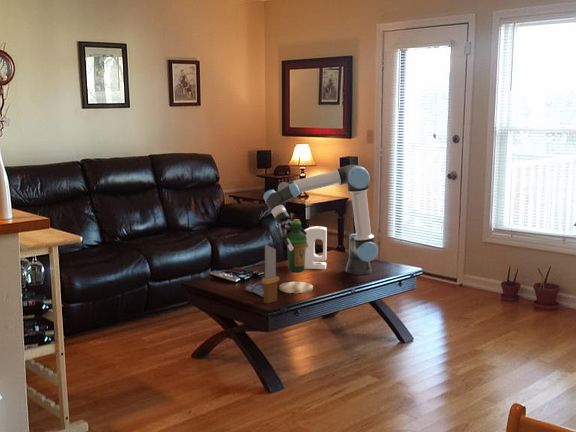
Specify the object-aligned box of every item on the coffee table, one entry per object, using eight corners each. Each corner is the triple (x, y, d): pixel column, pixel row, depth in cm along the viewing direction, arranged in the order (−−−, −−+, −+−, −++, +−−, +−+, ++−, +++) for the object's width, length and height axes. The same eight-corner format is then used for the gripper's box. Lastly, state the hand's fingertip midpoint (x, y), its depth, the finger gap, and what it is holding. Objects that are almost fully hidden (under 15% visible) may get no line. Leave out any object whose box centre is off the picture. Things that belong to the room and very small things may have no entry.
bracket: (325, 269, 397) (326, 228, 393) (291, 267, 400) (291, 227, 396) (326, 266, 404) (327, 226, 399) (292, 265, 406) (293, 225, 402)
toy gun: (285, 294, 346) (261, 299, 338) (265, 286, 361) (242, 291, 352) (285, 287, 346) (261, 292, 337) (265, 279, 360) (242, 284, 352)
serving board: (312, 284, 364) (312, 281, 364) (313, 293, 347) (313, 290, 346) (279, 284, 364) (279, 281, 364) (279, 293, 346) (279, 290, 346)
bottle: (304, 274, 348) (304, 221, 343) (284, 273, 350) (284, 221, 345) (307, 269, 358) (308, 218, 353) (288, 268, 360) (288, 217, 355)
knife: (267, 304, 329) (267, 245, 324) (261, 302, 331) (261, 244, 326) (278, 300, 335) (278, 242, 330) (273, 298, 337) (273, 241, 332)
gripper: (293, 216, 368) (312, 249, 359) (261, 221, 353) (280, 255, 344) (300, 208, 363) (319, 241, 354) (267, 213, 348) (286, 247, 339)
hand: (300, 248), depth 349 cm, fingers closed on bottle, 10 cm apart
